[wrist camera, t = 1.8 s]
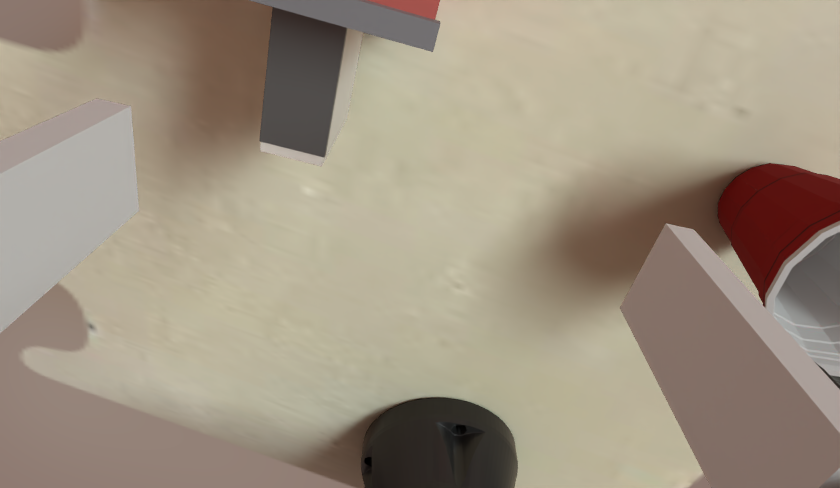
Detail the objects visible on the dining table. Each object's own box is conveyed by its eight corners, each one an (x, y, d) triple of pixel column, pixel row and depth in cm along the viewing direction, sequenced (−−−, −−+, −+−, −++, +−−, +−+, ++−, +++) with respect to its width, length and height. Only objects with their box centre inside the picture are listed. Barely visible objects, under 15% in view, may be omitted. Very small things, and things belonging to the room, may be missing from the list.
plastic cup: (736, 102, 32) (880, 175, 22) (877, 152, 33) (1076, 244, 23) (647, 241, 37) (729, 353, 27) (772, 279, 39) (895, 400, 28)
